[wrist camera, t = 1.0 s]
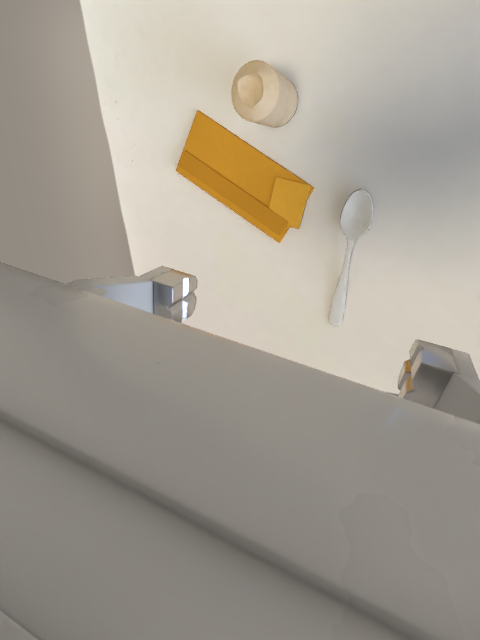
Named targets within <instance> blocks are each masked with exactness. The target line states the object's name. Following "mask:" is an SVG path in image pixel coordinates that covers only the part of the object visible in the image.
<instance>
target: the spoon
mask: <svg viewBox="0 0 480 640" xmlns="http://www.w3.org/2000/svg"><path fill="white" fill-rule="evenodd" d="M372 220H373V203H372V199H371V196H370V195H369V193H368V192H367V191H365V190H364V189H359V190H357V191H355V192H354V193H352V194H351V195H350V196H349V198H348V199H347V201H346V203H345V205H344V207H343V210H342V213H341V217H340V226H341V229H342V232H343V233H344V235H345V237H346V239H347V249H346V255H345V260H344V265H343V269H342V272H341V275H340V278H339V281H338V284H337V287H336V291H335V294H334V298H333V302H332V306H331V310H330V314H329V323H330V324H331V326H333V327H337V326H339V325H340V324H341V322H342V320H343V315H344V308H345V302H346V295H347V283H348V269H349V263H350V257H351V253H352V249H353V246H354V243H355V242H356V240H358V239H359V238H360V237H361V236H363V235H364V234H365V233H366V232H367V231H368V229H369V228H370V225H371V223H372Z"/></svg>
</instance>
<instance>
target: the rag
mask: <svg viewBox="0 0 480 640" xmlns="http://www.w3.org/2000/svg"><path fill="white" fill-rule="evenodd" d="M176 171H177V172H178V173H180V174H181V175H183V176H184V177H185V178H187V179H188V180H190V181H191V182H193V183H194V184H195V185H197V186H198V187H200V188H201V189H203V190H204V191H206V192H207V193H208V194H210V195H211V196H213V197H214V198H216V199H217V200H218V201H220V202H221V203H223V204H224V205H226V206H227V207H229V208H230V209H231V210H233V211H234V212H236V213H237V214H239V215H240V216H241V217H243V218H244V219H246V220H247V221H249V222H250V223H251V224H253V225H254V226H256V227H257V228H259V229H260V230H262V231H263V232H264V233H266V234H267V235H269V236H270V237H272V238H273V239H274V240H276V241H277V242H279V243H280V242H281V240H282V239H283V237H284V235H285V234H286V232H287V231H288V229H289V227H293V228H297V229H299V226H300V223H301V219H302V215H303V212H304V208H305V204H306V201H307V199H308V197H309V195H310V194H311V192H312V191H313V189H314V188H313V187H312V186H311V185H309V184H307V183H306V182H304V181H303V180H301V179H300V178H298V177H297V176H295V175H294V174H292V173H291V172H289V171H288V170H286V169H285V168H283V167H282V166H280V165H279V164H277V163H276V162H274V161H273V160H271V159H270V158H268V157H267V156H265V155H264V154H263V153H261V152H260V151H258V150H257V149H255V148H254V147H252V146H251V145H249V144H248V143H246V142H245V141H243V140H242V139H240V138H239V137H237V136H236V135H234V134H233V133H231V132H230V131H228V130H227V129H225V128H224V127H222V126H221V125H219V124H218V123H216V122H215V121H213V120H212V119H210V118H209V117H207V116H206V115H204V114H203V113H201V112H200V111H197V113H196V116H195V119H194V121H193V124H192V127H191V130H190V132H189V135H188V138H187V141H186V144H185V146H184V149H183V152H182V155H181V158H180V160H179V163H178V166H177V169H176Z"/></svg>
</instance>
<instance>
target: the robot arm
mask: <svg viewBox="0 0 480 640" xmlns="http://www.w3.org/2000/svg"><path fill="white" fill-rule="evenodd" d="M196 288H197V278H196V276H193V275H190V274H187V273H183V272H180V271H177V270H174V269H172V268H168V267H164V266H161V267H158V268H156V269H154V270H152V271H150V272H148V273H145V274H143V275H141V276H139V277H138V276H125V277H110V278H96V279H81V280H75V281H72V282H70V283H67V284H64V283H60V282H57V281H55V280H52V279H49V278H46V277H43V276H40V275H37V274H34V273H31V272H28V271H25V270H22V269H19V268H16V267H13V266H10V265H7V264H5V263H1V262H0V640H480V381H479V378H478V376H477V373H476V371H475V368H474V366H473V363H472V361H471V358H470V355H469V354H468V353H465V352H461V351H457V350H453V349H451V348H448V347H444V346H440V345H436V344H433V343H429V342H425V341H421V340H415V341H414V343H413V344H412V347H411V349H410V351H409V352H410V359H409V360H407V361H405V362H404V364H403V366H402V369H401V371H400V375H399V378H398V389H399V390H400V393H399V395H398V396H395V395H392V394H389V393H386V392H383V391H380V390H377V389H374V388H371V387H368V386H365V385H362V384H359V383H356V382H353V381H350V380H347V379H344V378H342V377H339V376H336V375H333V374H330V373H327V372H324V371H321V370H318V369H315V368H312V367H309V366H306V365H303V364H300V363H297V362H294V361H291V360H288V359H285V358H282V357H279V356H277V355H274V354H271V353H268V352H265V351H262V350H259V349H256V348H253V347H250V346H247V345H244V344H241V343H238V342H235V341H232V340H229V339H226V338H223V337H220V336H217V335H214V334H211V333H209V332H206V331H203V330H200V329H197V328H194V327H191V326H188V325H185V324H182V323H181V321H182V319H186V318H188V317H190V316H191V315H192V313H193V311H194V309H195V306H196V296H195V294H194V291H195V289H196Z"/></svg>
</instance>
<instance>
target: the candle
mask: <svg viewBox="0 0 480 640" xmlns="http://www.w3.org/2000/svg"><path fill="white" fill-rule="evenodd" d="M232 102H233V105H234V108H235V110H236V112H237V113H238V114H239V115H240V116H241V117H242V118H243V119H245V120H247V121H251V122H254V123H258V124H262V125H266V126H270V127H280V126H282V125H284V124H286V123H287V122H289V121H290V119H291V118H292V117H293V115H294V113H295V111H296V108H297V103H298V97H297V92H296V89H295V87H294V85H293V83H292V82H291V81H290V80H289V79H287V78H286V77H285V76H283V75H282V74H281V73H279V72H278V71H277V70H276V69H274V68H273V67H272V66H270V65H269V64H268V63H266V62H264V61H259V60H255V61H251V62H248V63H247V64H245V65H244V66H243V67H242V68H241V69H240V70H239V71H238V73H237V74H236V76H235V78H234V81H233V85H232Z"/></svg>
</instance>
